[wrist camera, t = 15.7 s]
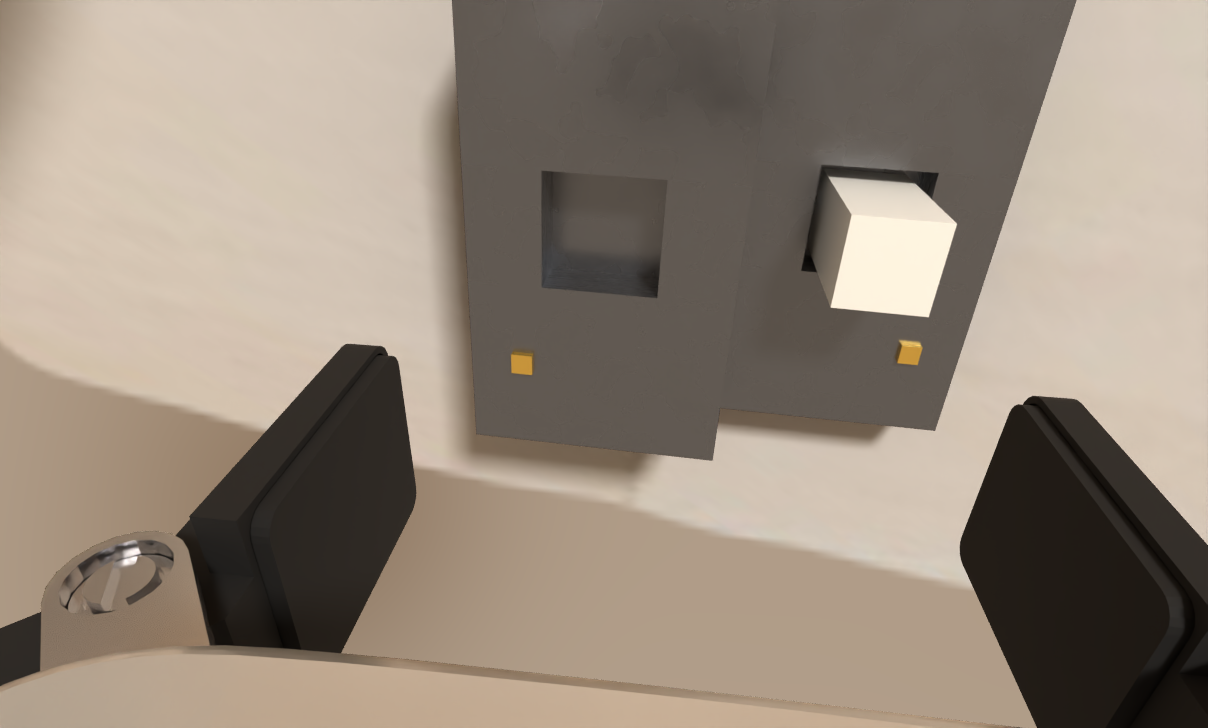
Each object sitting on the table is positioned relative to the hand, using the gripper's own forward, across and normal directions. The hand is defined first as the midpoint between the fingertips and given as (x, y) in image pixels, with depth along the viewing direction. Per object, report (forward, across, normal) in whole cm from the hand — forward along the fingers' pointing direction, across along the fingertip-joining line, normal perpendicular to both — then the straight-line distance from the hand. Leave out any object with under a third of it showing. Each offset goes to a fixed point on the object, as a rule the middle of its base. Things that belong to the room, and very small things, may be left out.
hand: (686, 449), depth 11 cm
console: (+28, -3, +4) cm, 29 cm away
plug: (+27, -9, +4) cm, 28 cm away
